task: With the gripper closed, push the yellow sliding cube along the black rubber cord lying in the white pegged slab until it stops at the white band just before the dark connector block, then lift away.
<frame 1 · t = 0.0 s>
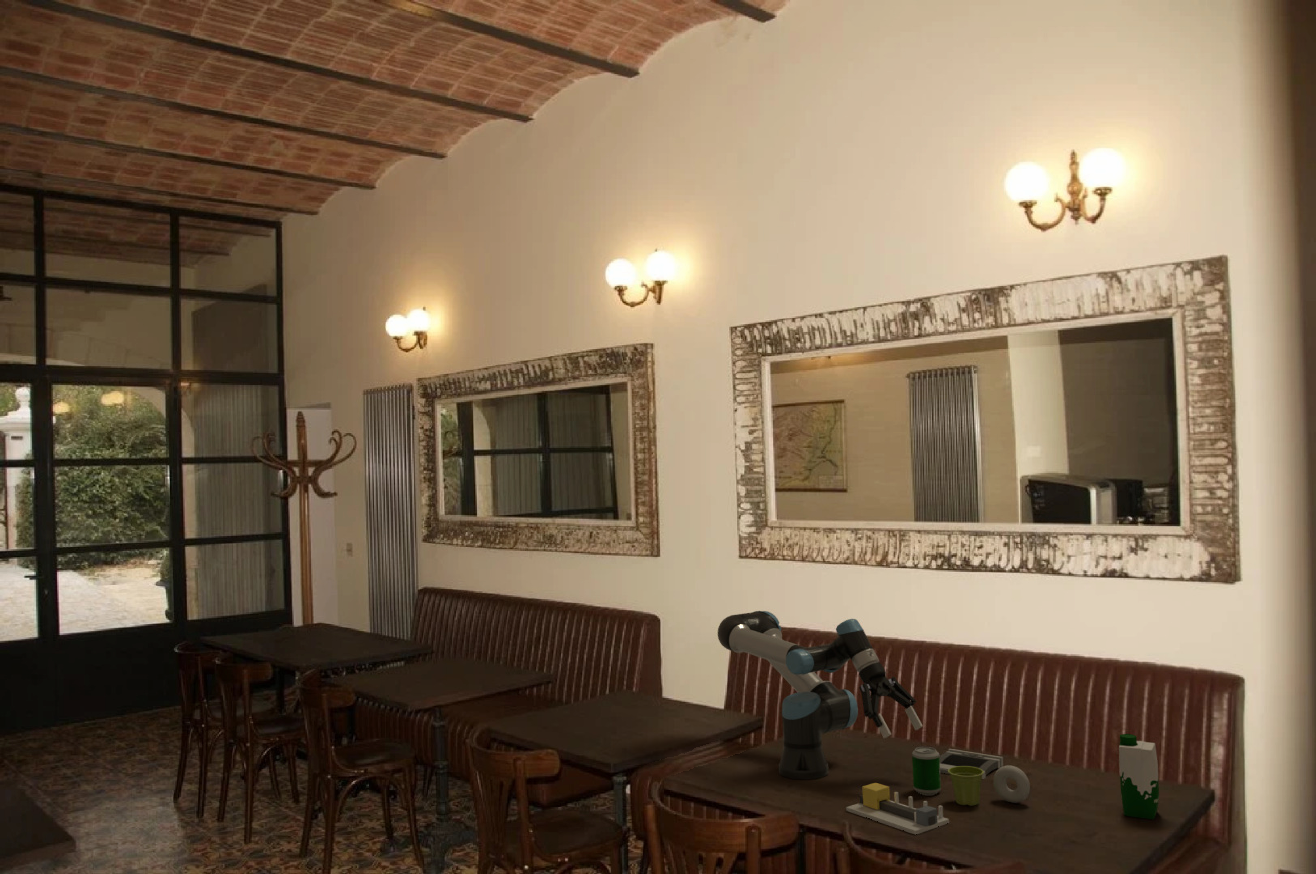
hand: (903, 732, 297), 15 cm above the table, tool tilted 35°, fingers open, 13 cm apart
yellow sliding cube: (876, 796, 276), point 4 cm above the table, slide at 0.0 cm
milk carton: (1140, 814, 266), on the table
donut: (1012, 803, 278), on the table
alarm clock: (965, 771, 310), on the table
plant pot: (967, 803, 280), on the table
white pegged slab: (896, 816, 270), on the table
soda can: (927, 793, 290), on the table
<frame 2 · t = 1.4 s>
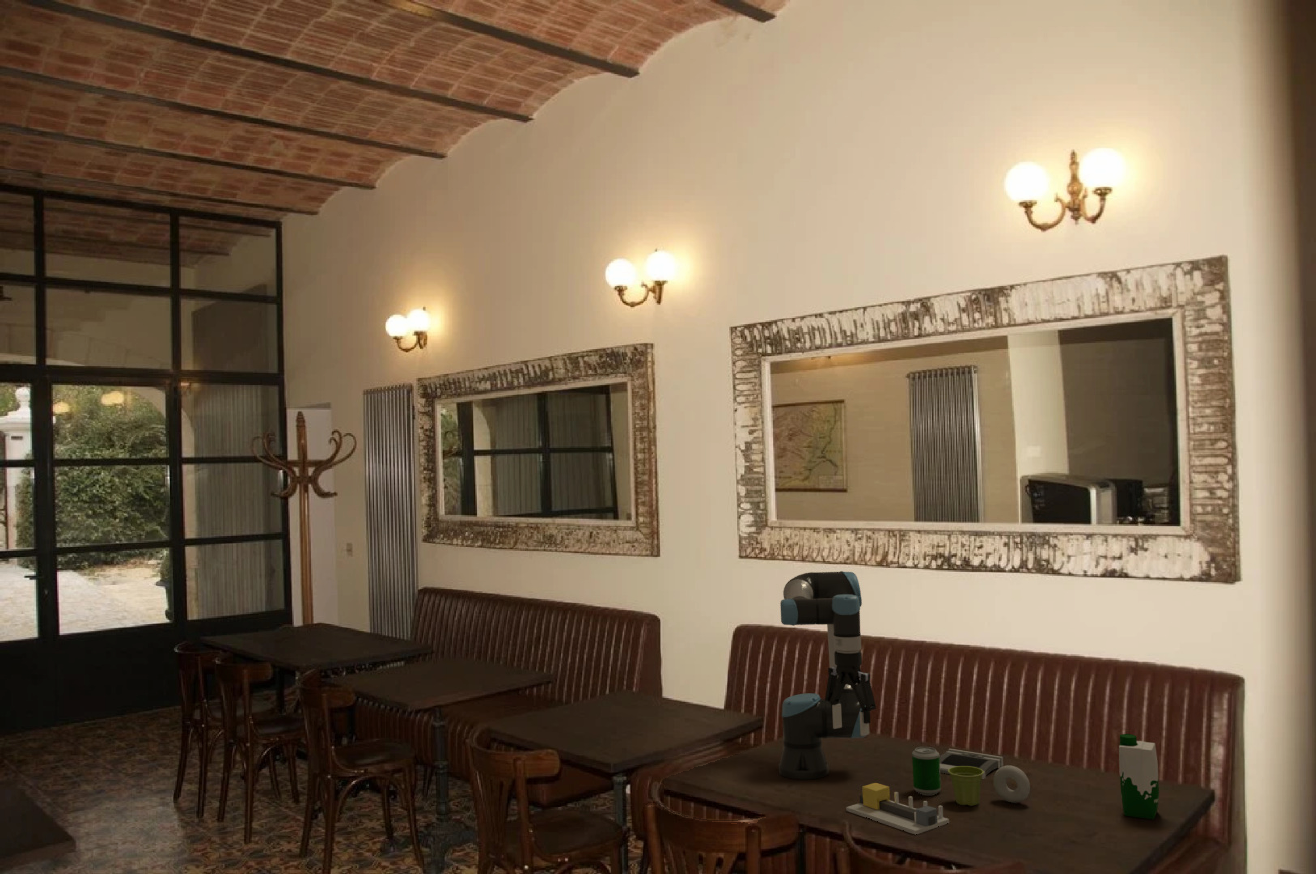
hand: (851, 731, 284), 20 cm above the table, tool pointing down, fingers open, 10 cm apart
nothing on the table moved.
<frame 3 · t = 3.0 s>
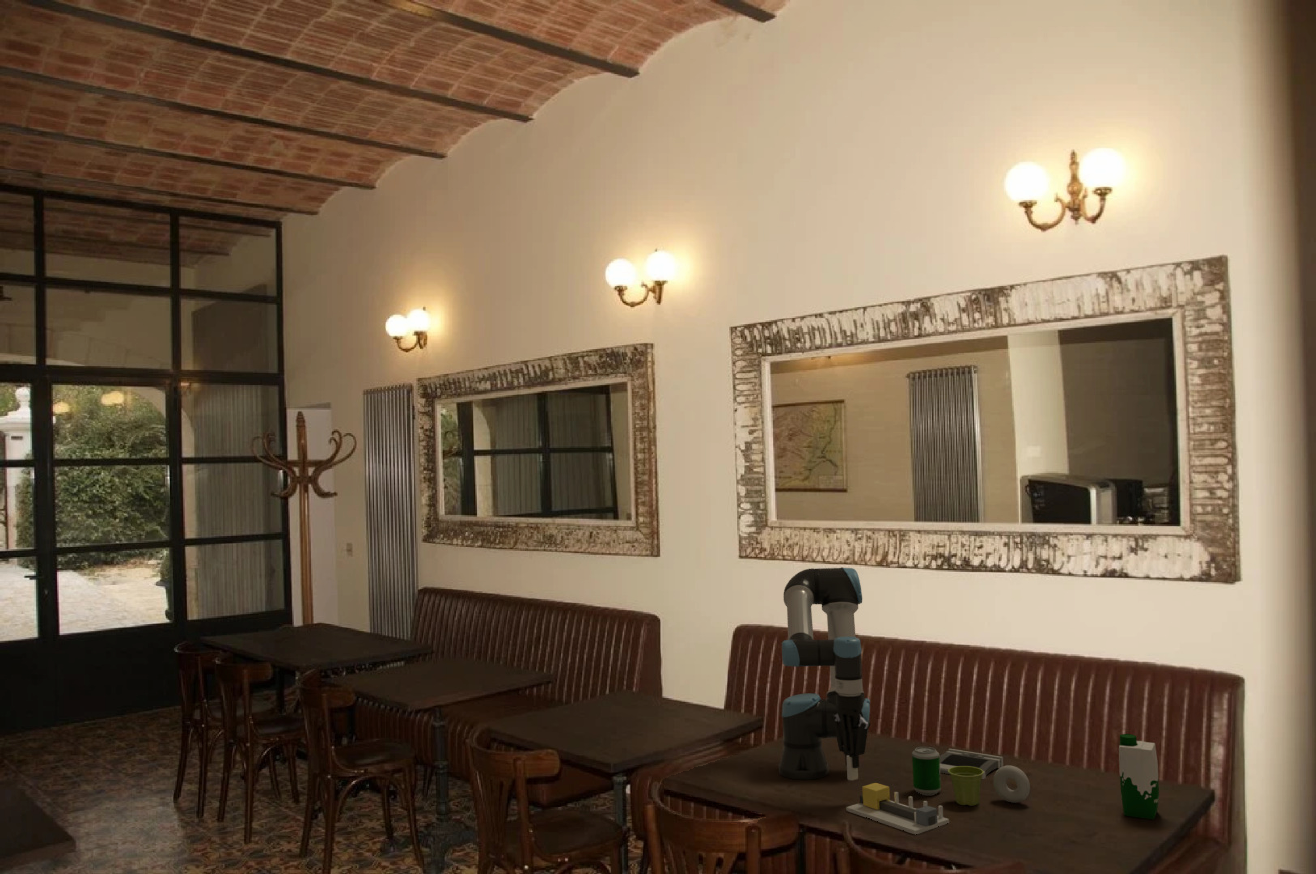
hand: (852, 779, 283), 7 cm above the table, tool pointing down, fingers closed
nothing on the table moved.
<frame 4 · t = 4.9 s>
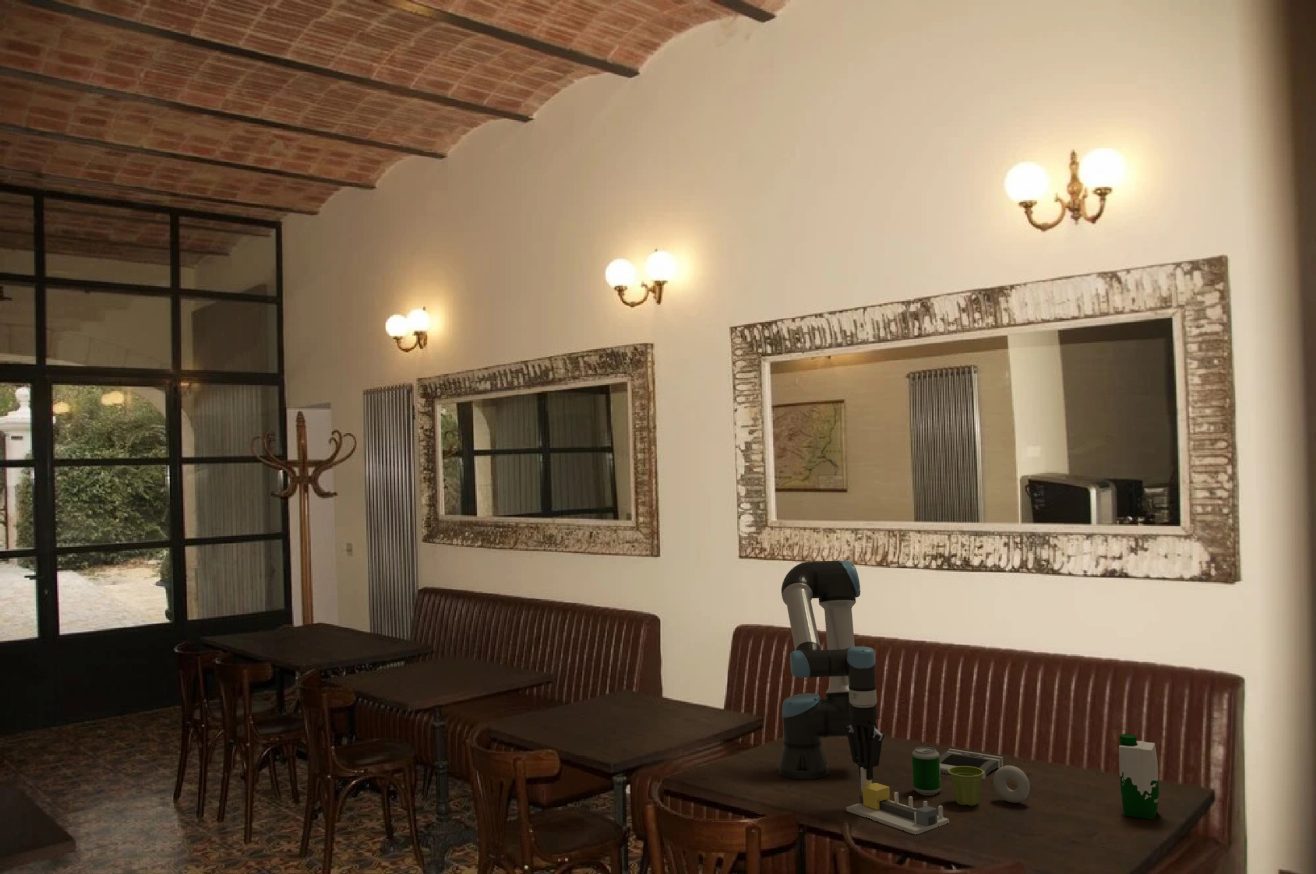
hand: (866, 791, 279), 4 cm above the table, tool pointing down, fingers closed
yellow sliding cube: (876, 796, 276), point 4 cm above the table, slide at 0.1 cm, touching gripper
everything else where it was.
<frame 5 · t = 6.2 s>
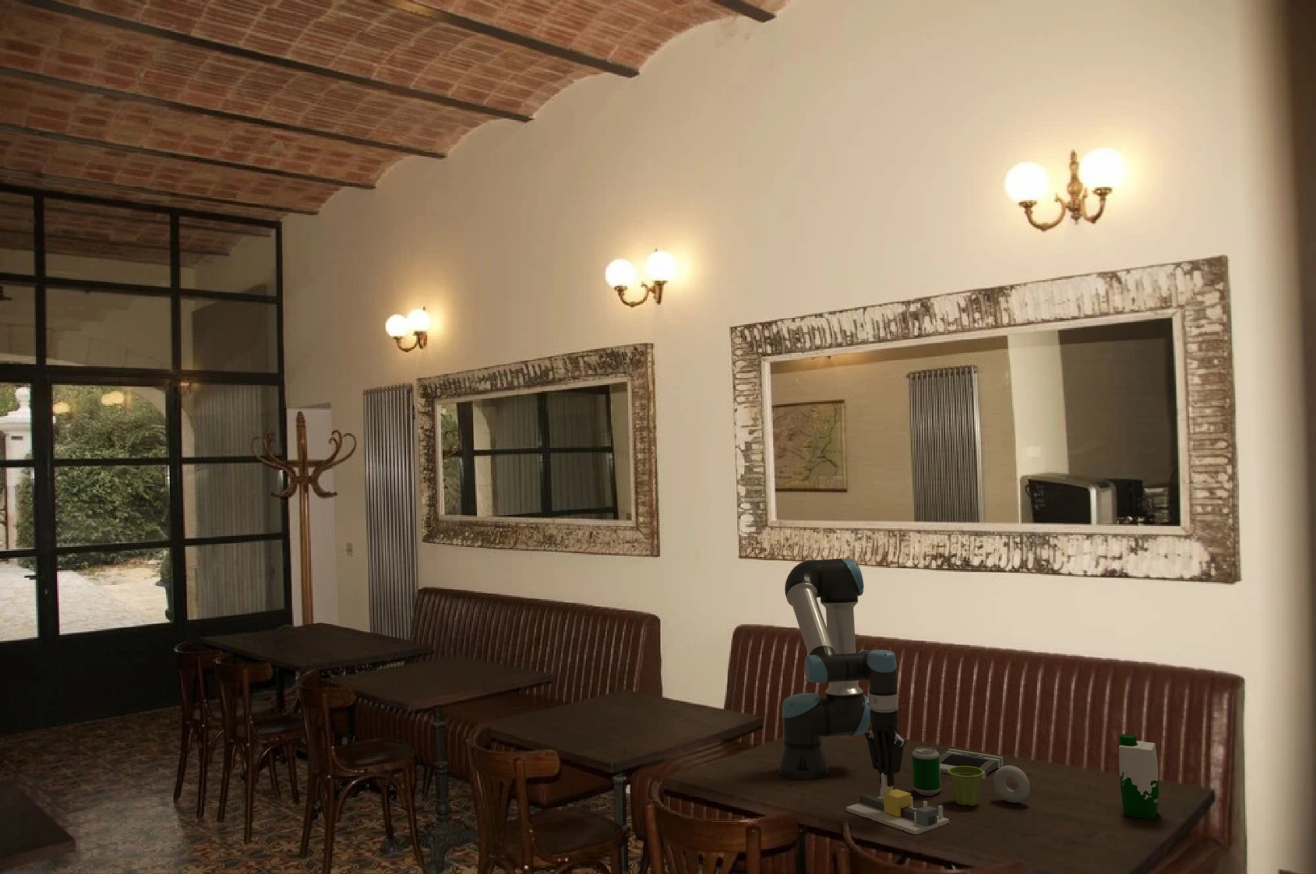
hand: (887, 797, 273), 4 cm above the table, tool pointing down, fingers closed
yellow sliding cube: (897, 803, 270), point 4 cm above the table, slide at 7.5 cm, touching gripper
everything else where it was.
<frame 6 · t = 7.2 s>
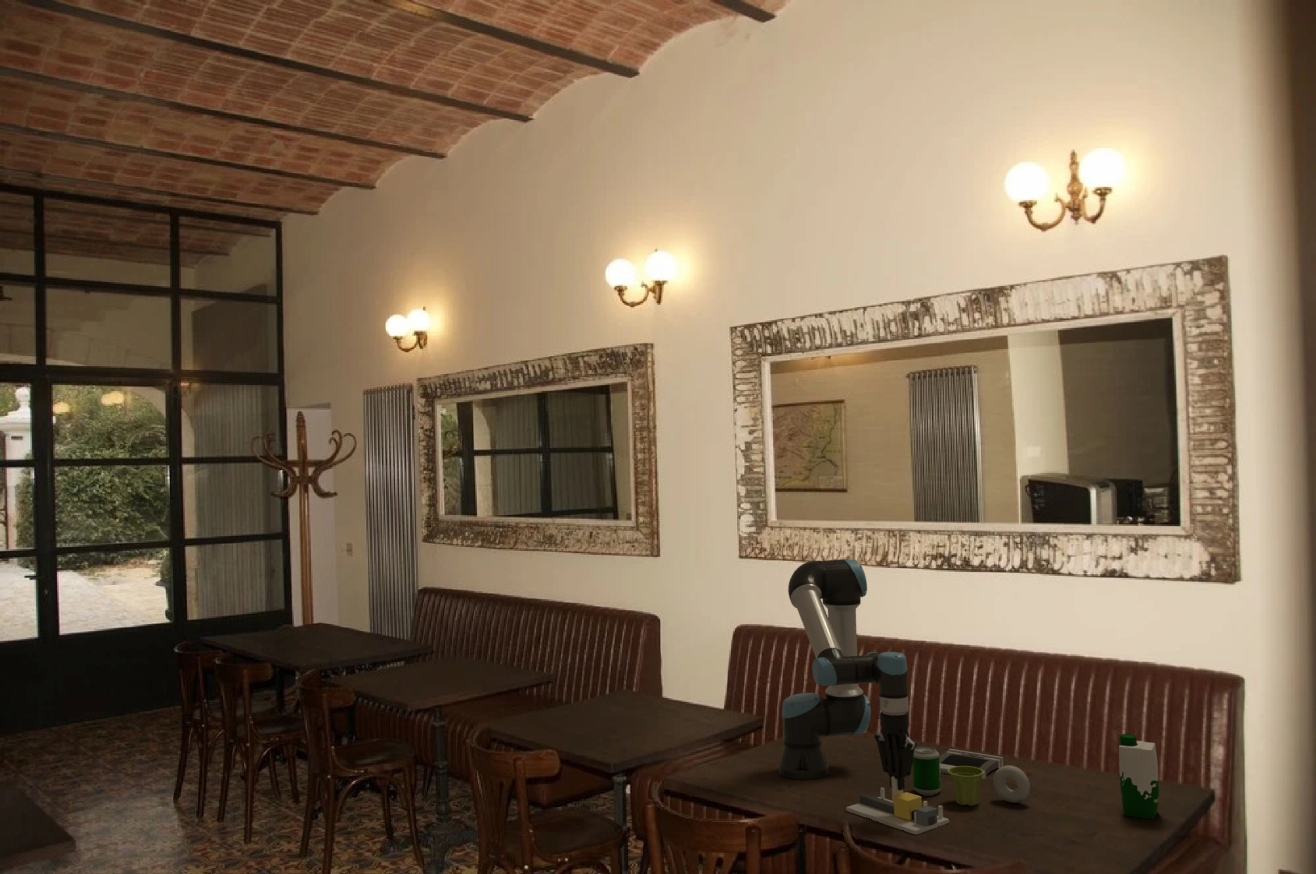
hand: (898, 801, 270), 4 cm above the table, tool pointing down, fingers closed
yellow sliding cube: (907, 806, 267), point 4 cm above the table, slide at 11.0 cm, touching gripper
everything else where it was.
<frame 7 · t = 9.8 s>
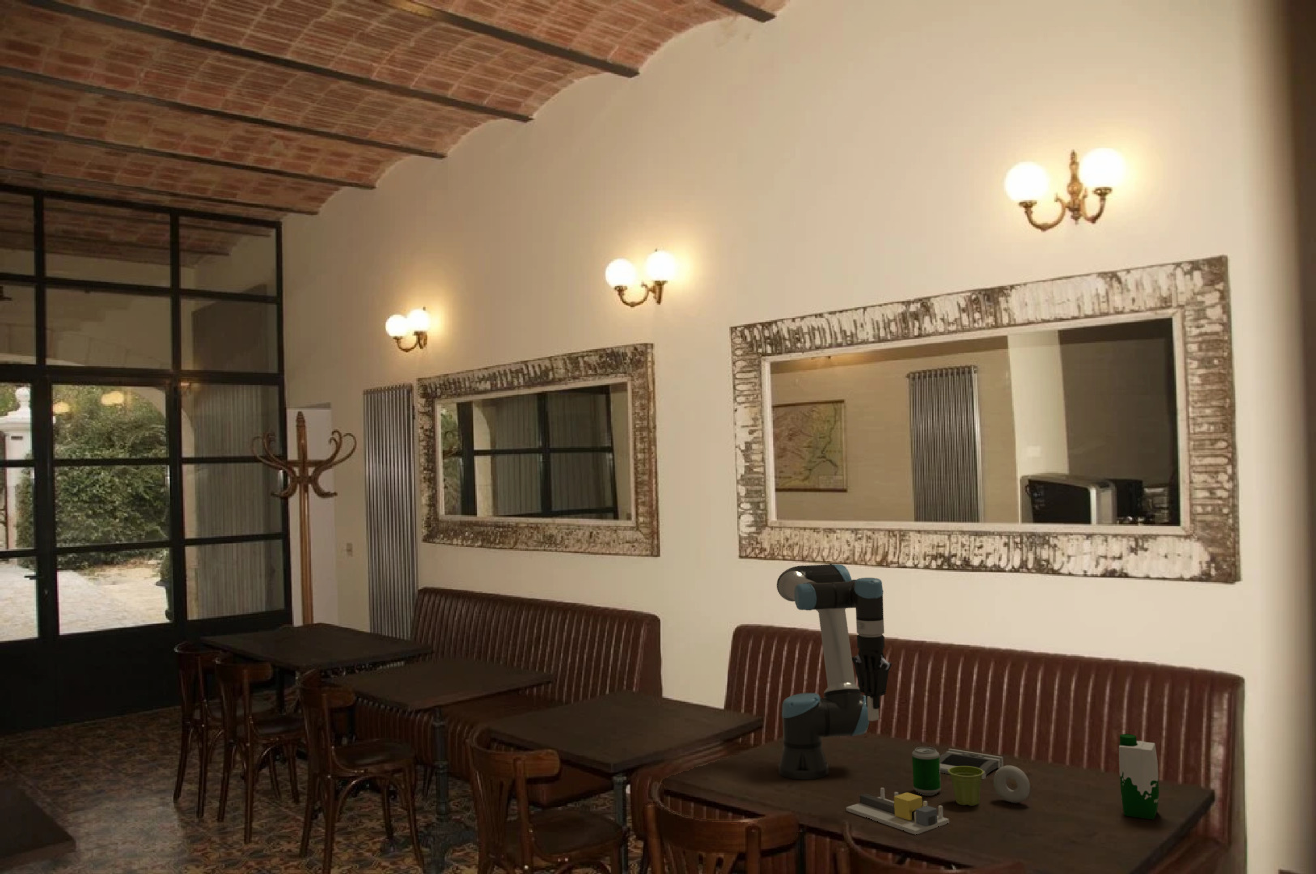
hand: (873, 719, 281), 23 cm above the table, tool pointing down, fingers closed
yellow sliding cube: (908, 806, 267), point 4 cm above the table, slide at 11.2 cm
everything else where it was.
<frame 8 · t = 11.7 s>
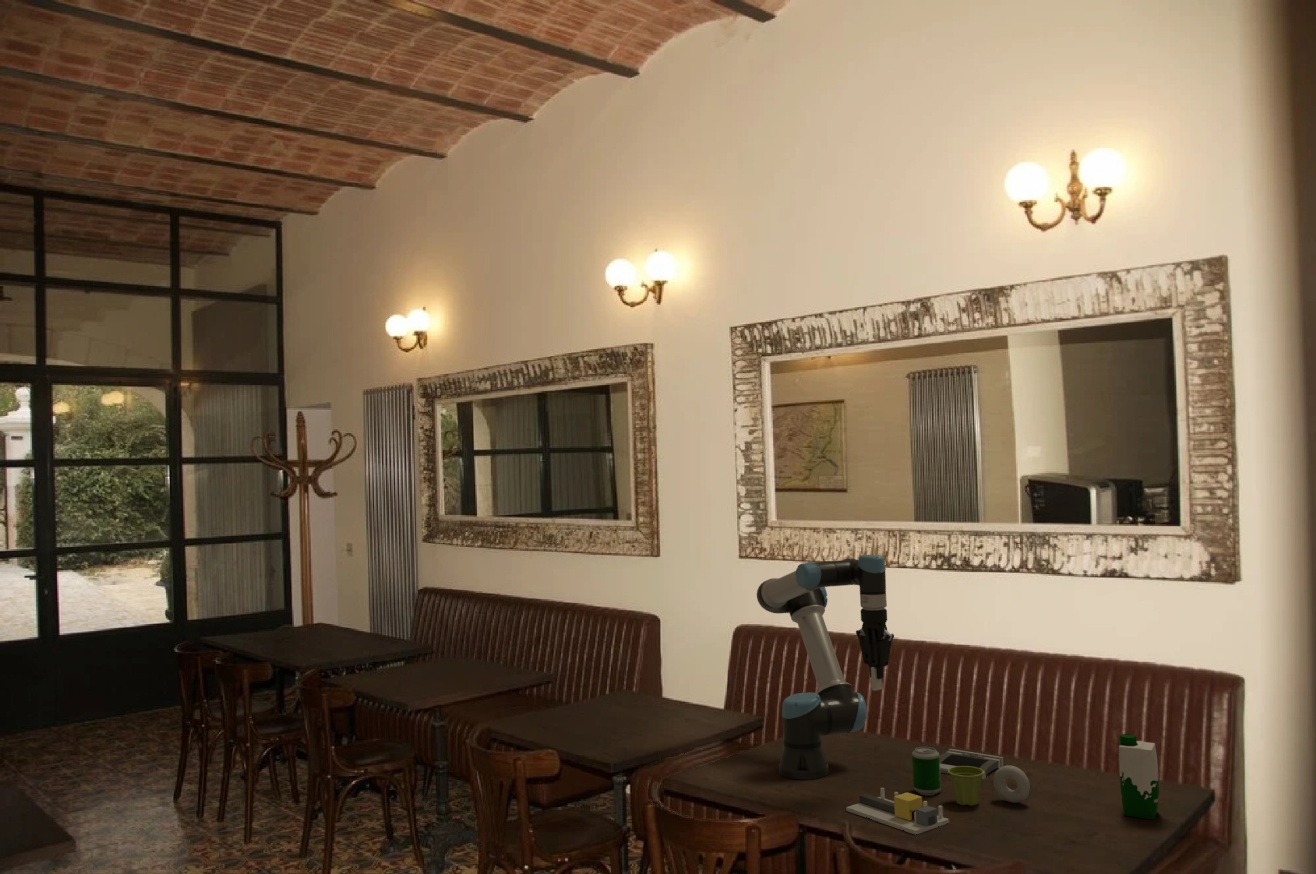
hand: (877, 689, 295), 28 cm above the table, tool pointing down, fingers closed
nothing on the table moved.
at the end: yellow sliding cube slide at 11.2 cm; yellow sliding cube touching nothing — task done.
